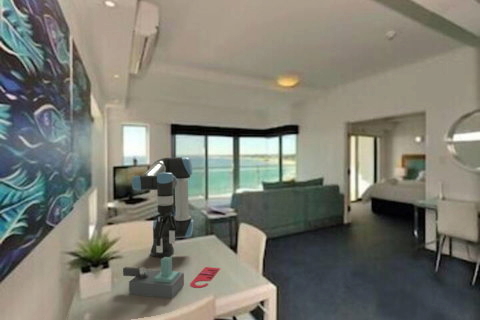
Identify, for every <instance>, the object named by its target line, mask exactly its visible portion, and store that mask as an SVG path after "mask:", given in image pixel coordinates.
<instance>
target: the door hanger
mask: <svg viewBox="0 0 480 320" xmlns="http://www.w3.org/2000/svg"><path fill="white" fill-rule="evenodd" d="M220 270H221V268H219V267H209V266H205V267H204V268H203V269H202V270H201V271H200V272H199V273H198V274H197V276H196V277H195V278H194V279H193V280H192V281H191V282H190V287H191V288H194V289H199V288H200V289H201V288H205V287H208V286H209V283H204V284H200V285H199V284H198V285H197V284H196V283H197V282H211V281H212V280H213V279H214V278H215V276H216V275H217V274H218V273H219V271H220Z"/></svg>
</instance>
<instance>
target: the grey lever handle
mask: <svg viewBox="0 0 480 320" xmlns="http://www.w3.org/2000/svg"><path fill="white" fill-rule="evenodd" d="M146 270H147V268H146V267H144V266H142V267H131V266H129V267H128V266H125V267H123V268H122V277H123V276H124V277H134V278H135V277H140V278H145V277H146Z"/></svg>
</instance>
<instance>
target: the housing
mask: <svg viewBox="0 0 480 320" xmlns="http://www.w3.org/2000/svg"><path fill="white" fill-rule="evenodd" d="M160 272H161V270H154V269H153V270H152V269H146V277H145V278H140V277H135V276H134V277H133V278H132V279H131V280H130V281H128V290H129V291H128V294H129V295H135V296H144V295H145V296H146V297H147V296H148V297H154V296H155V298H156V297H157V298H167V299H168V298H169V299H174V297H175V296H176V295H177V294H178V292H179V291H180V289H182V287H183V286H184V285H185V272H180V271H178V272H179V275H178V276H177V277H176V278H175V279H174V280H173V281H172V283H169V282H157V281H154V277H156V276H157V275H158V274H159V273H160ZM145 296H144V297H145Z"/></svg>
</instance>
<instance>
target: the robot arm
mask: <svg viewBox="0 0 480 320" xmlns="http://www.w3.org/2000/svg"><path fill="white" fill-rule="evenodd" d="M192 164H193V163H192V161H191V159H190V158H189V157H186V156H185V157H183V156H180V157H179V156H178V157H177V156H176V157H164V158H160V159H157V160H155V161H154V162H152V164H151V165H150V168H148V169H147V170H146V171H145V172H144V173H143V174H141V175H135V176H133V178H132V179H131V186H132V187H131V188H132V189H133V190H134V191H140V192H141V191H157V192H156V193H157V196H156V200H157V213H158V214H159V216H156V220H154V221H153V223H152V239H153V240H152V241H153V243H152V246H151V249H150V256H151V257H153V258H164V257H169V256H171V255H173V254H174V253H175V248H174V245H173V244H176V239H178V238H181V239H182V238H190V237H192V235H193V229H194V219H192V216H191V215H190V213H189V212H190V210H189V209H190V208H189V180H190V178H191V176H192V175H193V165H192ZM174 196H175V197H174ZM174 198H175V199H174ZM174 200H175V201H174ZM174 203H175V212H174Z"/></svg>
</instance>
